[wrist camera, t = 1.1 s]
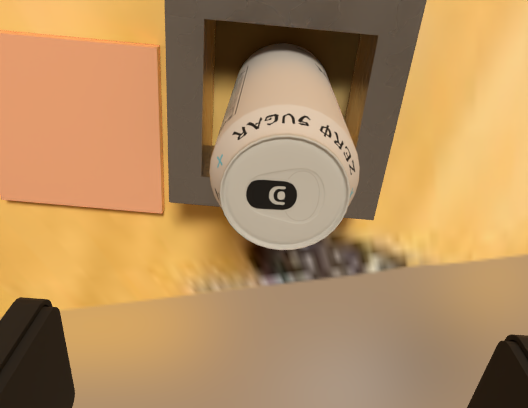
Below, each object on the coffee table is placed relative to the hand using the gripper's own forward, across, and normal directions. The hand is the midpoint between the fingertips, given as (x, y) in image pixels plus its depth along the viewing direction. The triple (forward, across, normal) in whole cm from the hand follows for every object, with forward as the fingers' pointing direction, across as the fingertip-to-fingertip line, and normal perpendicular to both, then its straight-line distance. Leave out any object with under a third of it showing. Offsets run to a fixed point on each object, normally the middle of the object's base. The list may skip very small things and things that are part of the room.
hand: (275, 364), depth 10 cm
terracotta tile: (+23, +14, +4) cm, 27 cm away
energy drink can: (+23, 0, 0) cm, 23 cm away
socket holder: (+23, 0, 0) cm, 23 cm away
